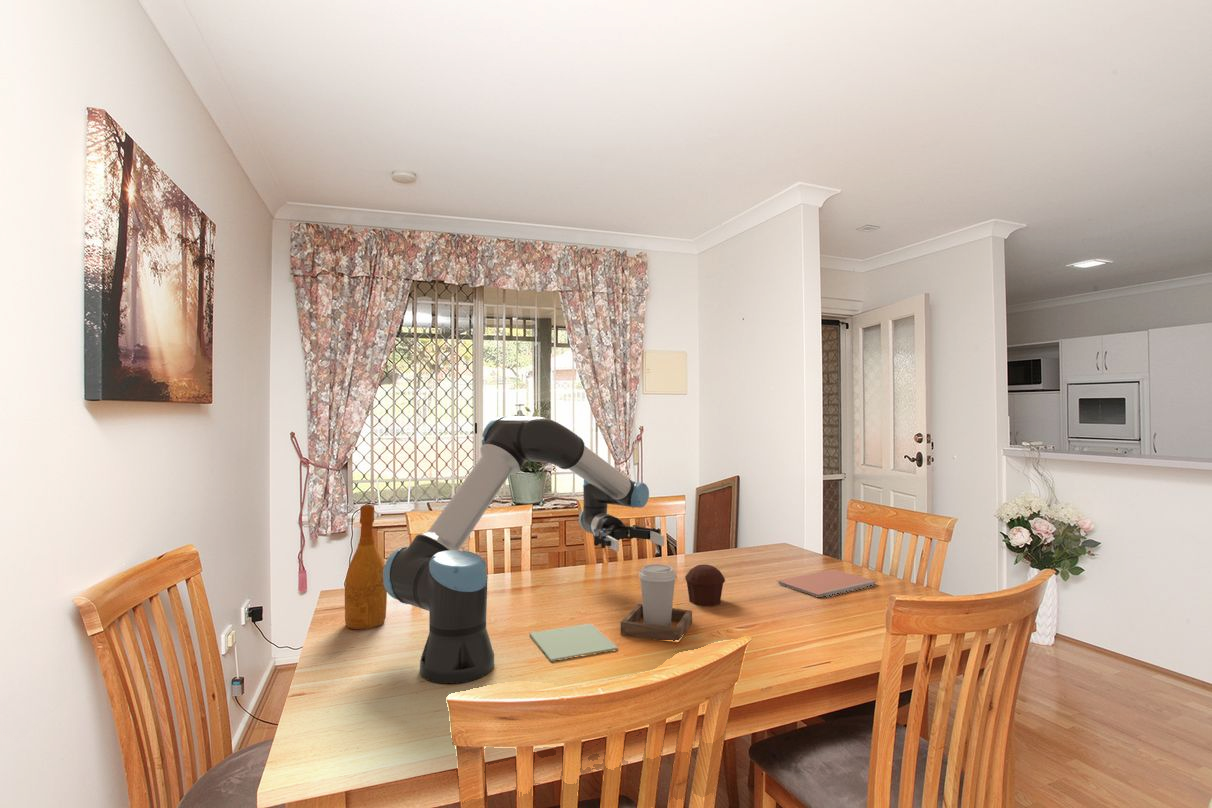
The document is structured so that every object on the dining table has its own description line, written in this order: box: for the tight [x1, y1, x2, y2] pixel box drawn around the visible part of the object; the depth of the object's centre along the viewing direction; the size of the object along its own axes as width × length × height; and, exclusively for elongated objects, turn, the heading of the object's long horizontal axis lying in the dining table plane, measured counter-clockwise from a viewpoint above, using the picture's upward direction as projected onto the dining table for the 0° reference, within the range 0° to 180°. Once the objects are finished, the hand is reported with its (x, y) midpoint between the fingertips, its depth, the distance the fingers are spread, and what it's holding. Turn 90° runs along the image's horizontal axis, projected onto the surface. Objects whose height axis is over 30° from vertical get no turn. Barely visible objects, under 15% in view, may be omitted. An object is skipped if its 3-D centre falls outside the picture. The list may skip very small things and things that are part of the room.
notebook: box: [776, 568, 877, 598], centre depth 182 cm, size 27×17×2 cm, turn 121°
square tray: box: [619, 603, 693, 641], centre depth 145 cm, size 14×14×3 cm
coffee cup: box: [638, 563, 678, 627], centre depth 145 cm, size 10×10×15 cm
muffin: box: [684, 564, 726, 607], centre depth 165 cm, size 12×11×10 cm
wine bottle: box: [344, 504, 388, 630], centre depth 146 cm, size 10×10×30 cm
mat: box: [529, 623, 619, 662], centre depth 135 cm, size 16×16×1 cm
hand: (640, 543), depth 154 cm, fingers open, 13 cm apart
